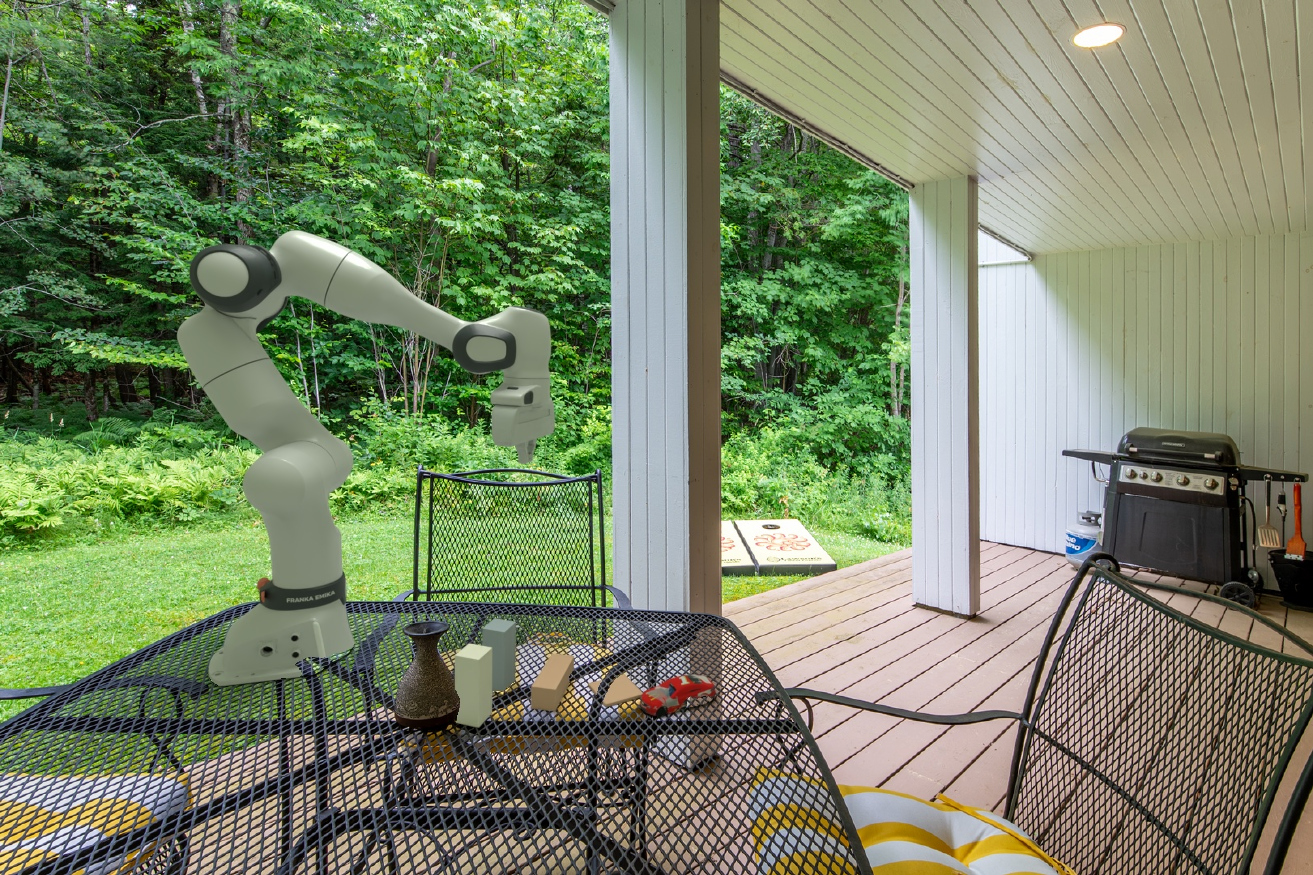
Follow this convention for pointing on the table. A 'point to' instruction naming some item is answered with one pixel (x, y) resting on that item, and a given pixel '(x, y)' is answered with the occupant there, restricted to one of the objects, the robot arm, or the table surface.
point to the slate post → (501, 651)
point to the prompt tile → (618, 691)
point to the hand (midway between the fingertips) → (525, 462)
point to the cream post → (474, 684)
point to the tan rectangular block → (552, 682)
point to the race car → (675, 694)
